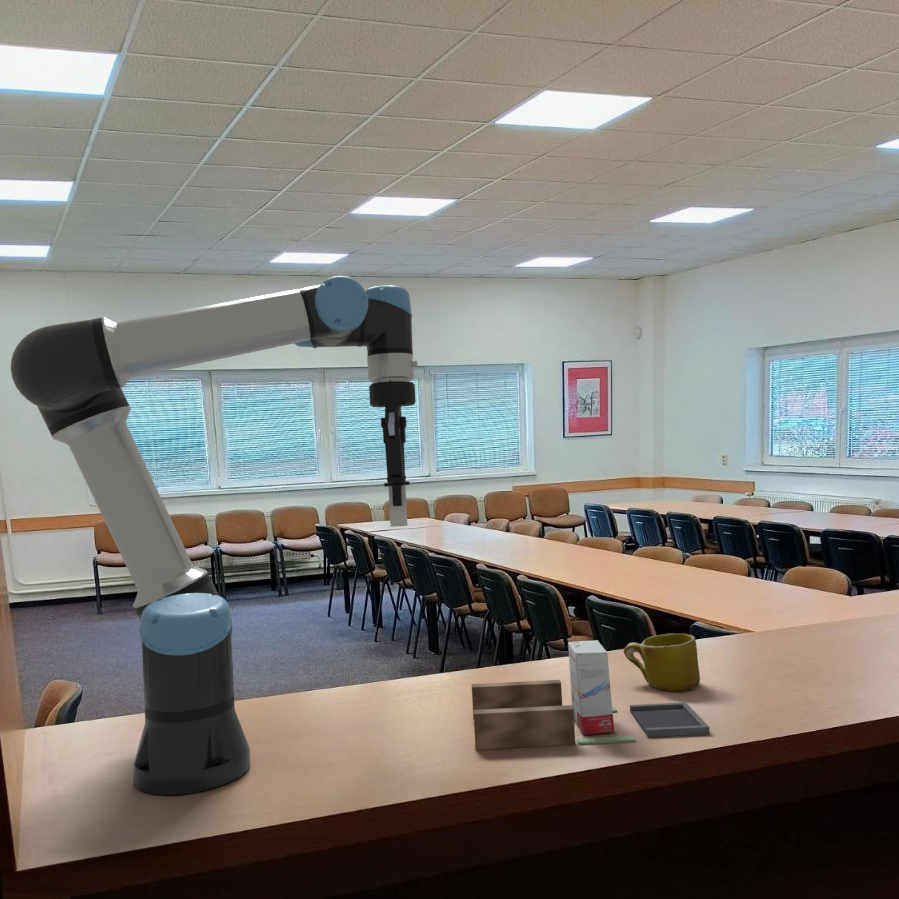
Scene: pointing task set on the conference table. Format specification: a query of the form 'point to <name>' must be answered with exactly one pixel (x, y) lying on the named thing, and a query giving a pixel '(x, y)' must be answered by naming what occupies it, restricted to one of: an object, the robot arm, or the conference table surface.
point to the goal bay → (606, 738)
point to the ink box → (590, 687)
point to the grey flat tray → (668, 719)
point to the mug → (667, 661)
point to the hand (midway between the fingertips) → (399, 525)
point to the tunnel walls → (521, 715)
